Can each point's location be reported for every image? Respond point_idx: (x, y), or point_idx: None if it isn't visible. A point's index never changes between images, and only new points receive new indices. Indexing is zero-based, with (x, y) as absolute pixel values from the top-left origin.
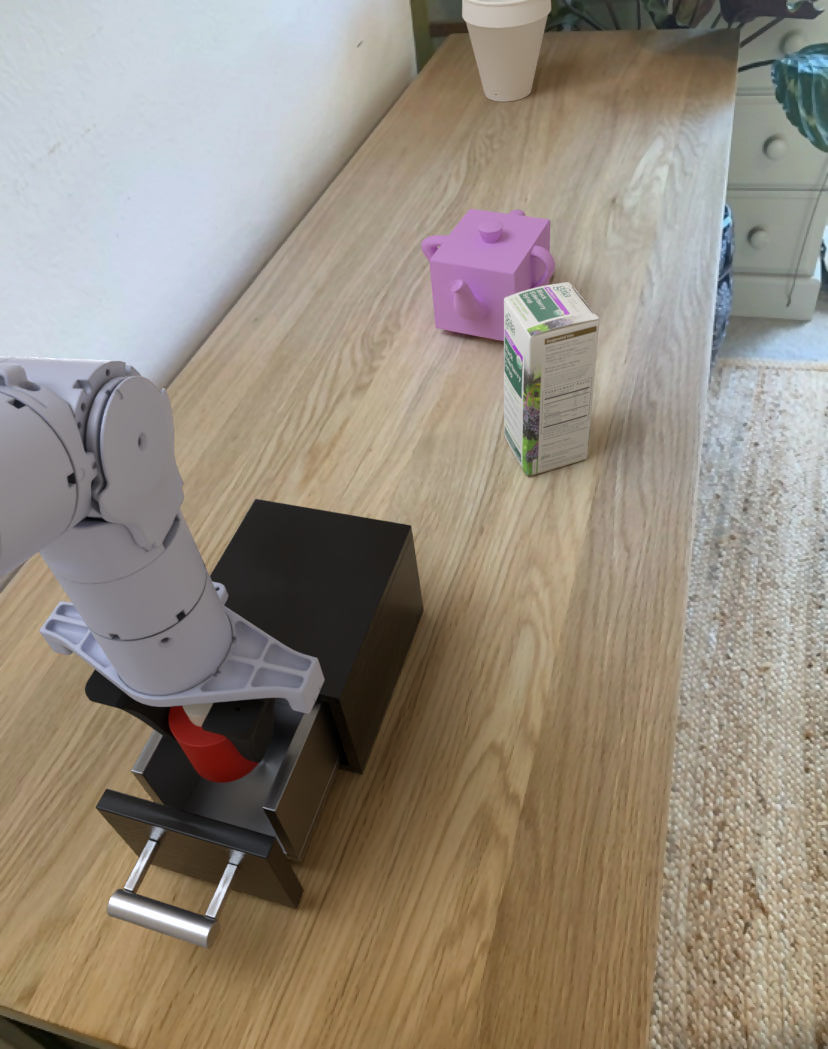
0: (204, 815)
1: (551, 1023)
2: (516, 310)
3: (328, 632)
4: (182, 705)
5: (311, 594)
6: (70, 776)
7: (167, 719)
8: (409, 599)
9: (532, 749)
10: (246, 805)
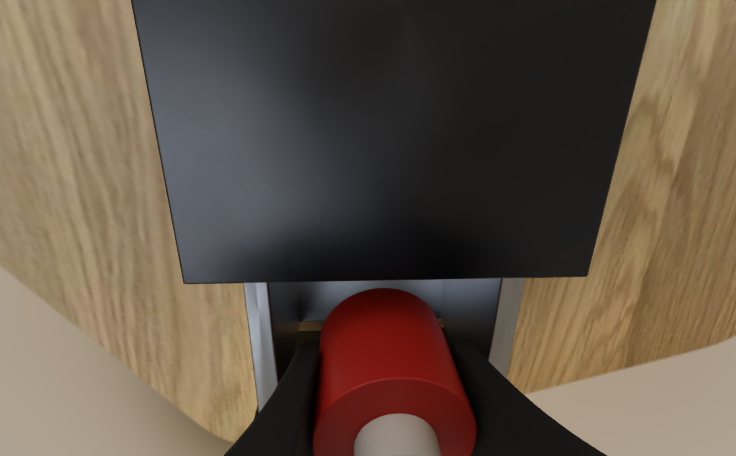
0: (327, 308)
1: (683, 344)
2: None
3: (537, 135)
4: (336, 448)
5: (464, 23)
6: (120, 280)
7: (312, 452)
8: None
9: (696, 95)
10: (372, 285)
